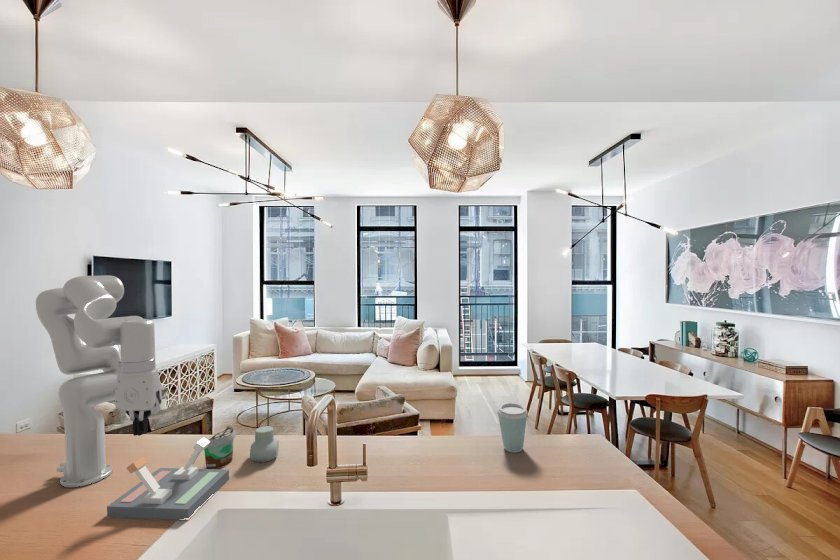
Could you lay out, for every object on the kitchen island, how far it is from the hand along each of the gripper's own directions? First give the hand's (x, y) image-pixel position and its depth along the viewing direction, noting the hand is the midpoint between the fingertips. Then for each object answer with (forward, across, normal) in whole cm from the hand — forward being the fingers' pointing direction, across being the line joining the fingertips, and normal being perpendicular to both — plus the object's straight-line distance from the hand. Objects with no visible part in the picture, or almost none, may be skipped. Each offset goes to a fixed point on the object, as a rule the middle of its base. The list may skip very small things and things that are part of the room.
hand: (140, 433), depth 110 cm
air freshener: (+21, +21, +30) cm, 42 cm away
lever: (+16, +4, +12) cm, 21 cm away
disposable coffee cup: (+20, +106, +40) cm, 115 cm away
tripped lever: (+16, +4, 0) cm, 17 cm away
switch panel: (+21, +4, +6) cm, 22 cm away
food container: (+21, +9, +26) cm, 34 cm away
